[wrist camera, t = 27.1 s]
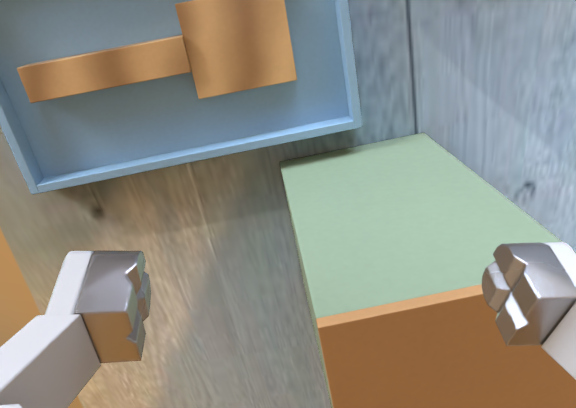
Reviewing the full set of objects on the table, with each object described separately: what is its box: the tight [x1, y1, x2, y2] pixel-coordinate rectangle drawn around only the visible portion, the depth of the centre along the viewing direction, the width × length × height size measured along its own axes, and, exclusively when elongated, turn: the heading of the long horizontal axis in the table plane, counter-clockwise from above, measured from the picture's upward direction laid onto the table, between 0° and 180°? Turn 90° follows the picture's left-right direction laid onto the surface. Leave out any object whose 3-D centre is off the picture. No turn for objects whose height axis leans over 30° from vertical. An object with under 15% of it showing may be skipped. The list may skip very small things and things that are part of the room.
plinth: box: [280, 133, 576, 408], centre depth 40 cm, size 15×14×26 cm
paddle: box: [17, 0, 297, 103], centre depth 41 cm, size 23×8×2 cm, turn 100°
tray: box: [0, 0, 363, 194], centre depth 42 cm, size 32×19×3 cm, turn 100°
